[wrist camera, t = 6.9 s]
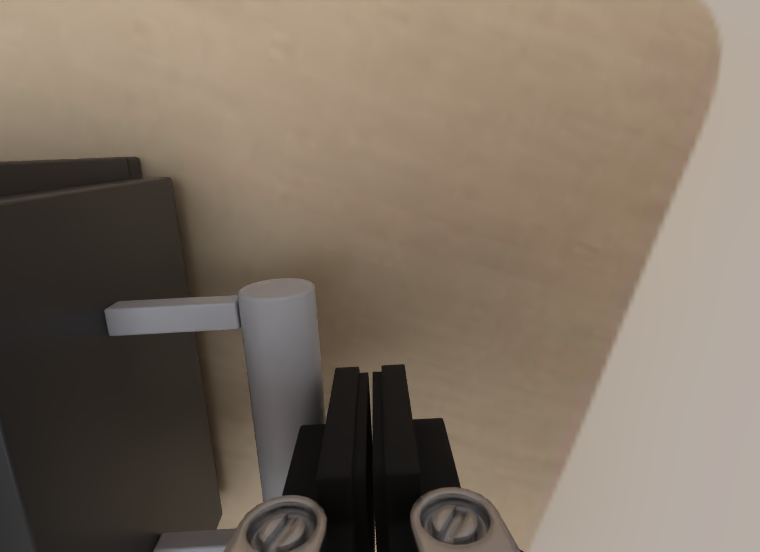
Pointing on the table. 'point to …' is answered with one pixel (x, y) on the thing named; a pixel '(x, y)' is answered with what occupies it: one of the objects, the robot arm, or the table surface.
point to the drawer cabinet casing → (64, 173)
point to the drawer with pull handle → (130, 374)
